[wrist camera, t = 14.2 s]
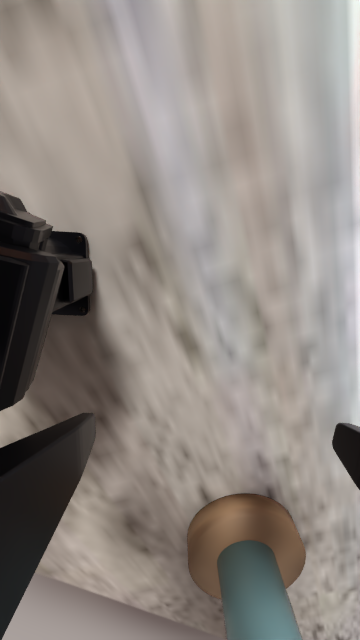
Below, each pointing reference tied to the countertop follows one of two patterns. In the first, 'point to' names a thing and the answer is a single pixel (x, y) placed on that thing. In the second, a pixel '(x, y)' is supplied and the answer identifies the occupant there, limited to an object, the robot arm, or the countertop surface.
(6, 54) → the countertop surface
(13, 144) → the countertop surface
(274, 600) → the teal tapered cylinder
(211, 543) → the base plate
